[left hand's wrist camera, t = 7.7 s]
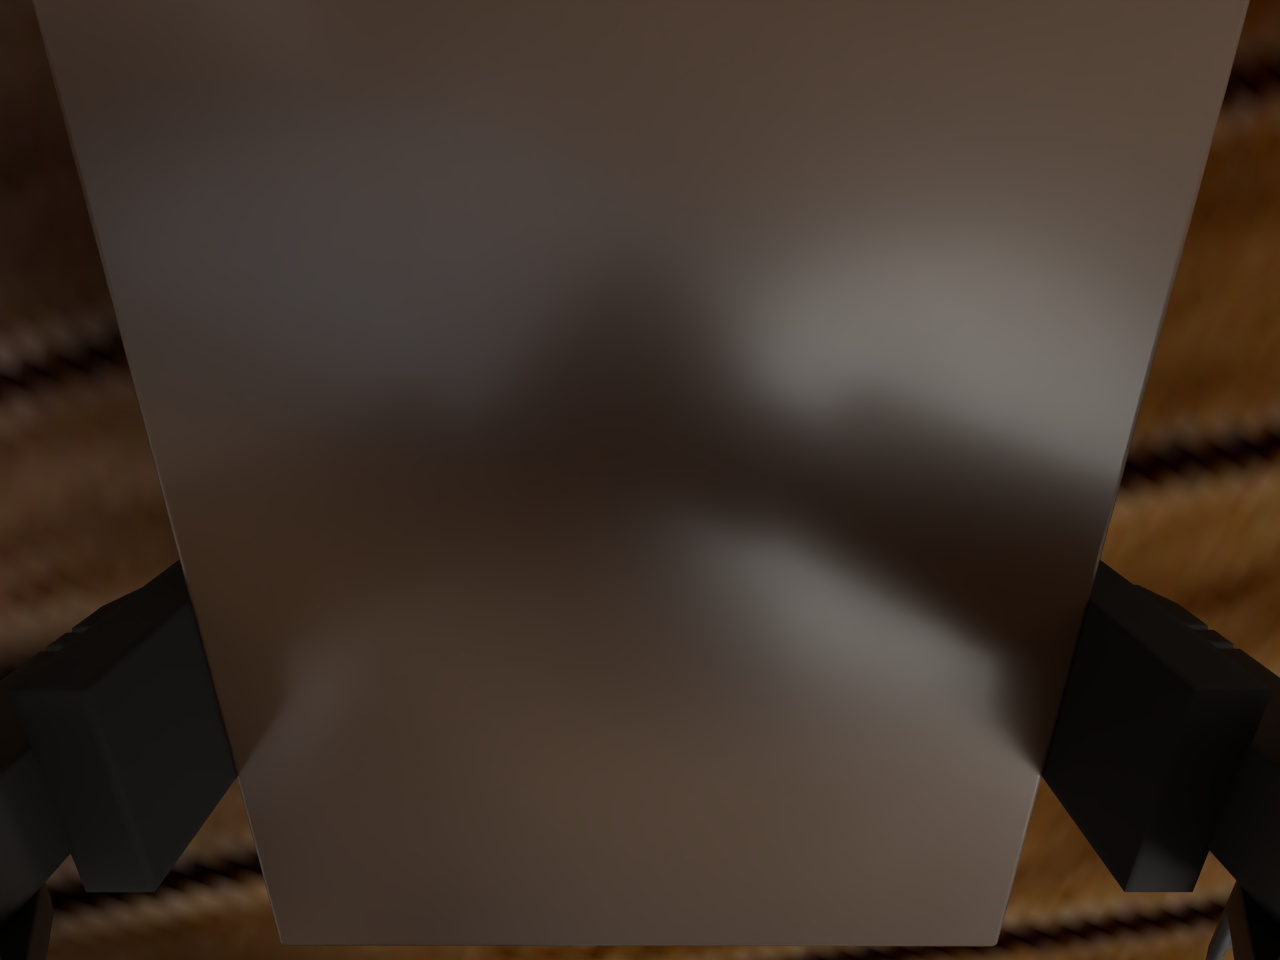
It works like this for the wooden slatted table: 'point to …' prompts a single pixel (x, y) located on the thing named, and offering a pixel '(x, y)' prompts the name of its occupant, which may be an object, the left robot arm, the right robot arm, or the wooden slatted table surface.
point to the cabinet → (640, 431)
